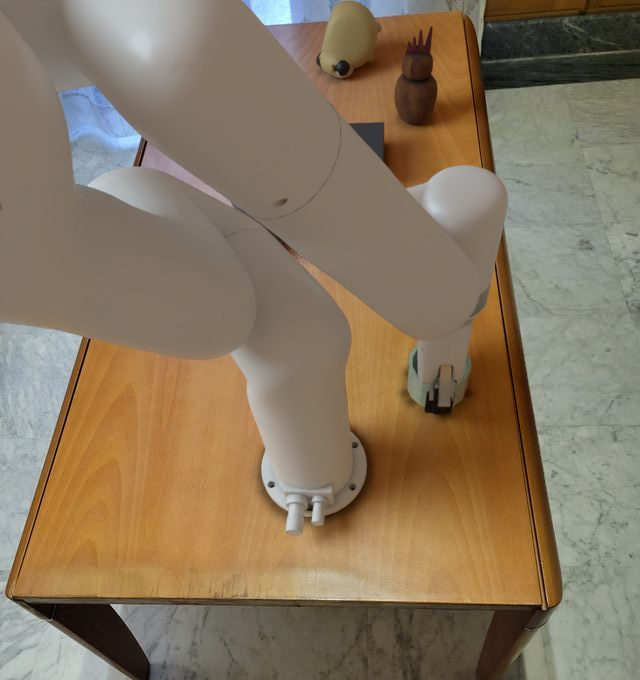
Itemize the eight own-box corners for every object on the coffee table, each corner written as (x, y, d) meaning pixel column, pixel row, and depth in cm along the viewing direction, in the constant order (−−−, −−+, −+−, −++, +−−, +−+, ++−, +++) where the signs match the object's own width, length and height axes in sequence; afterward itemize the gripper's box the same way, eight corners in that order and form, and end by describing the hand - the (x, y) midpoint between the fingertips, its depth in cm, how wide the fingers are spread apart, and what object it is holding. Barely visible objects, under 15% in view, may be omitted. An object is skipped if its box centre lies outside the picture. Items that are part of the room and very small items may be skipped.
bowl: (466, 413, 78) (472, 388, 73) (406, 411, 79) (408, 387, 74) (464, 364, 82) (469, 338, 77) (407, 364, 82) (409, 337, 78)
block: (382, 188, 99) (382, 163, 96) (319, 189, 101) (316, 165, 97) (384, 146, 104) (384, 121, 100) (323, 148, 105) (321, 124, 102)
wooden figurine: (440, 114, 107) (448, 21, 94) (424, 134, 105) (430, 41, 92) (405, 103, 109) (408, 11, 96) (389, 123, 107) (389, 31, 94)
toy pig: (332, 75, 121) (295, 56, 113) (360, 7, 116) (323, -18, 108) (367, 94, 117) (331, 76, 109) (398, 24, 111) (362, 0, 103)
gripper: (414, 225, 69) (407, 328, 84) (414, 355, 60) (406, 443, 76) (484, 225, 68) (464, 329, 83) (494, 356, 60) (470, 445, 75)
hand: (437, 383), depth 79 cm, fingers closed on bowl, 7 cm apart
